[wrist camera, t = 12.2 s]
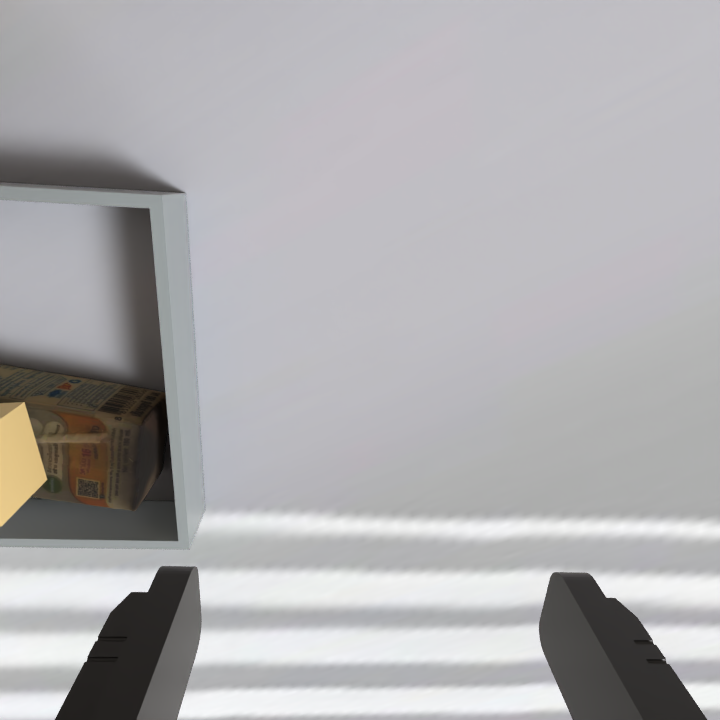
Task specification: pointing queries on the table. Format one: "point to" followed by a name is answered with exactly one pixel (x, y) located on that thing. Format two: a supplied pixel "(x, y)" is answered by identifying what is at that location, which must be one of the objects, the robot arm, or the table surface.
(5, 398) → the beverage carton
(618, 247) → the table surface
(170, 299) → the tote tray
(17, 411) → the yellow box
